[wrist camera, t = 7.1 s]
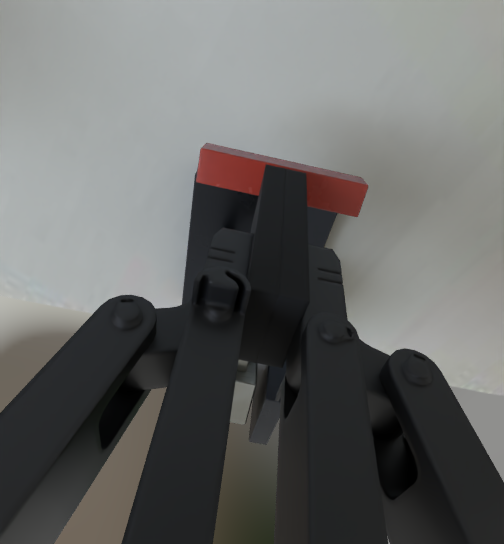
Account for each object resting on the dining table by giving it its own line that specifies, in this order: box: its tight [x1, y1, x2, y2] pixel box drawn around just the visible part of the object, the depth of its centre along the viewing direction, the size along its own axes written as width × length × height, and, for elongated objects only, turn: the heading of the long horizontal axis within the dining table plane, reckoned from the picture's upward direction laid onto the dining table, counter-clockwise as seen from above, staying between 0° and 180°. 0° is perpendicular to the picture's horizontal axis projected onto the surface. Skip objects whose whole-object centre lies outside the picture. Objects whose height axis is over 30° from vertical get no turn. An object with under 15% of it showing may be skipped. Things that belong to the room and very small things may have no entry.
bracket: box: [182, 169, 337, 445], centre depth 24 cm, size 12×9×13 cm
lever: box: [196, 143, 368, 424], centre depth 18 cm, size 13×6×2 cm, turn 169°
